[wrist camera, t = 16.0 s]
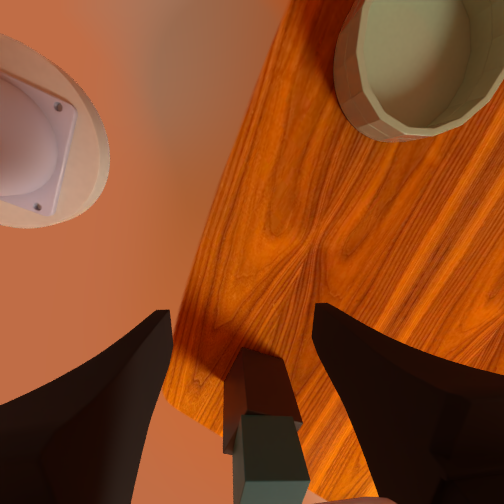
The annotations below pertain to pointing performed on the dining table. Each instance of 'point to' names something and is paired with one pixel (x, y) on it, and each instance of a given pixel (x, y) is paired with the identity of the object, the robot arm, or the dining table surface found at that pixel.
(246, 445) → the teal block
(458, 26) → the dish
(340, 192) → the dining table surface
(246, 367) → the dark brown block
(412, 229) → the dining table surface
